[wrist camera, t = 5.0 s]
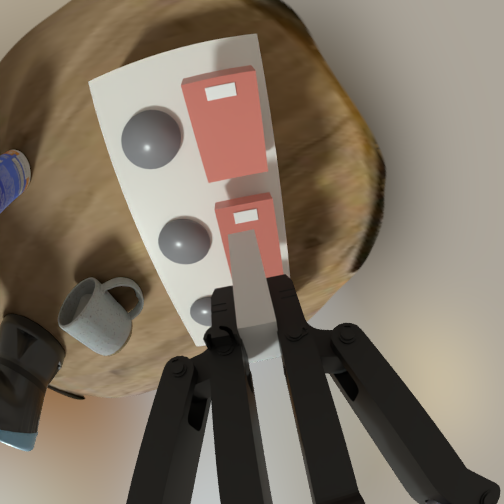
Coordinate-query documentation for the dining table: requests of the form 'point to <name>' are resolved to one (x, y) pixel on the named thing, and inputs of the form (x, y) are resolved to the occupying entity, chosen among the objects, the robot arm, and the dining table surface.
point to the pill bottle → (13, 176)
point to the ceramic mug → (99, 315)
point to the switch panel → (180, 168)
